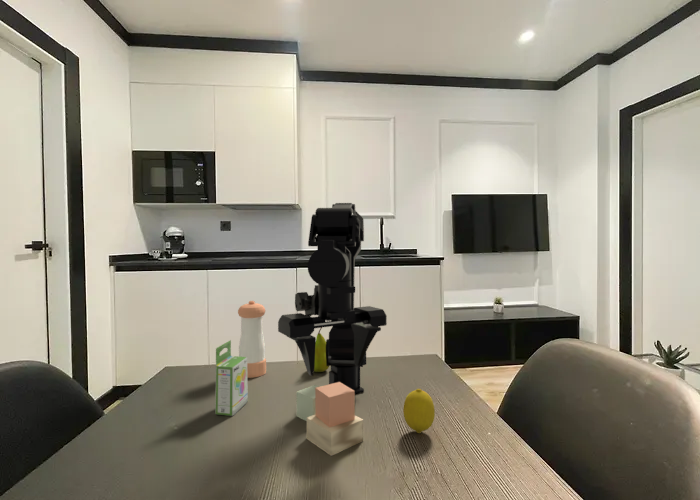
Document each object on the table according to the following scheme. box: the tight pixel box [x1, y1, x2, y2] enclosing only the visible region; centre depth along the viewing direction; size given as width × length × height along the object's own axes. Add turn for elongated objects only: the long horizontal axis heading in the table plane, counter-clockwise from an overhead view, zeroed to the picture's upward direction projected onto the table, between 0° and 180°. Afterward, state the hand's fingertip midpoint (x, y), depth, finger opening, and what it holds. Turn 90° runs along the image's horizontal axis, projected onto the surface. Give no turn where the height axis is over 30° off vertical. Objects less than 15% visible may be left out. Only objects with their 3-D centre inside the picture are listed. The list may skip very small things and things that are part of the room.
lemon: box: [402, 388, 436, 434], centre depth 67 cm, size 6×6×8 cm
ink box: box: [214, 339, 249, 417], centre depth 78 cm, size 7×4×13 cm, turn 172°
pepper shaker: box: [237, 300, 267, 379], centre depth 99 cm, size 7×7×19 cm
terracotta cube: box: [315, 382, 356, 427], centre depth 65 cm, size 5×5×5 cm
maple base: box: [306, 414, 364, 457], centre depth 65 cm, size 7×7×4 cm
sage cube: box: [296, 384, 320, 422], centre depth 74 cm, size 5×5×5 cm
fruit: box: [314, 327, 330, 373], centre depth 101 cm, size 6×6×12 cm
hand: (334, 370), depth 65 cm, fingers open, 9 cm apart
